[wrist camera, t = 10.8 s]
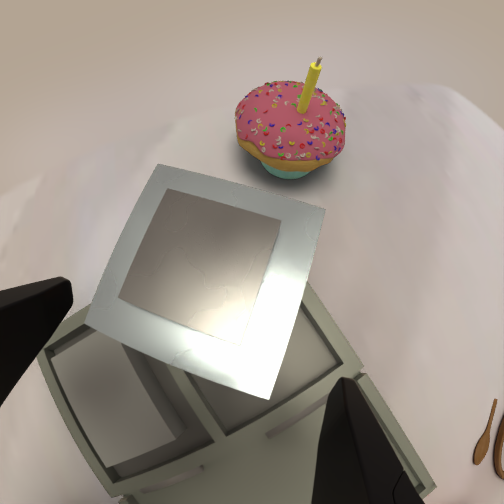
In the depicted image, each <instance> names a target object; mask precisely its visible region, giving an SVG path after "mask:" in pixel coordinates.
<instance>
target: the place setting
mask: <svg viewBox="0 0 504 504" xmlns="http://www.w3.org/2000/svg"><path fill="white" fill-rule="evenodd" d="M496 404H497V399H494V402H493V406H492V409H491V414H490V418H489V422H488V425H487V428H486V431H485V432H484V434H483V435H482V436H481V438H480V439H479V441H478V443H477V446H476V449H475V453H474V464H475V465H479V464H480V463H481V461H482V460H483V458H484V457H485V455H486V453H487V451H488V448H489V442H490V428H491V424H492V420H493V416H494V412H495V408H496ZM503 442H504V417H503V419H502V422H501V425H500V428H499V431H498V435H497V439H496V444H495V452H494V462H495V468H496V471H497V473H498V475H499V476H500V477H501V478H502V479H504V471H503V470H502V466H501V454H502V447H503Z"/></svg>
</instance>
